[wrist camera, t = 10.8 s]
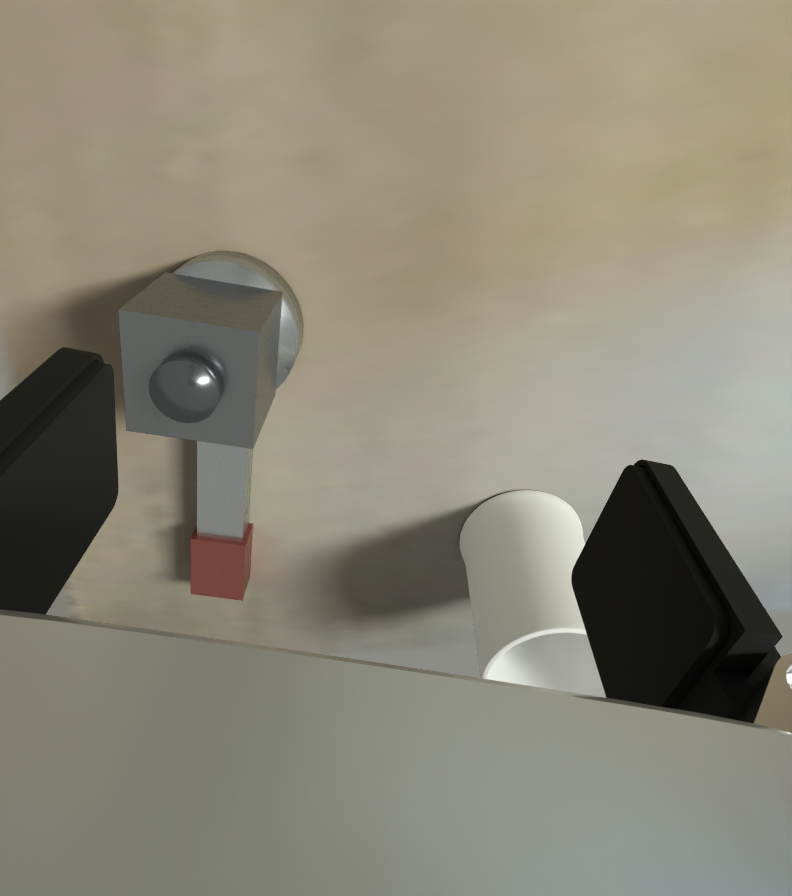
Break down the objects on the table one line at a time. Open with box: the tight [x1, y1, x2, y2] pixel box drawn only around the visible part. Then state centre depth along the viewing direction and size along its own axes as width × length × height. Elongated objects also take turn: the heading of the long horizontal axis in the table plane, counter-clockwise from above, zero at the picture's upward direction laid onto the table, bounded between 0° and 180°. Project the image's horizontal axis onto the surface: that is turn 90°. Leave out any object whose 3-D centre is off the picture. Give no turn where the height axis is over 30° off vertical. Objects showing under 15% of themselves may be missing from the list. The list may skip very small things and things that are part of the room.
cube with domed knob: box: [118, 272, 283, 449], centre depth 30 cm, size 6×6×7 cm
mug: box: [460, 490, 606, 698], centre depth 38 cm, size 12×8×12 cm
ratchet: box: [173, 251, 303, 600], centre depth 36 cm, size 24×8×6 cm, turn 170°
